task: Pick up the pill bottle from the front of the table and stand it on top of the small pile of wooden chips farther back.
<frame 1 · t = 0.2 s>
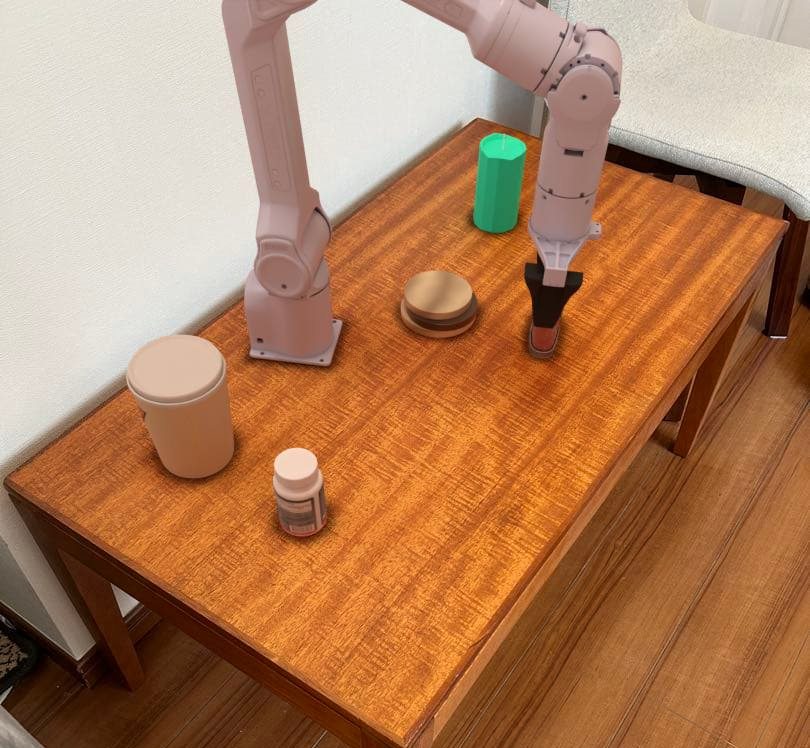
hand: (545, 302, 89), 10 cm above the table, tool pointing down, fingers open, 7 cm apart
candle: (494, 221, 116), on the table
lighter: (543, 337, 101), on the table, touching gripper
coffee cup: (198, 452, 89), on the table
chip pile: (438, 313, 104), on the table
pill bottle: (303, 520, 84), on the table
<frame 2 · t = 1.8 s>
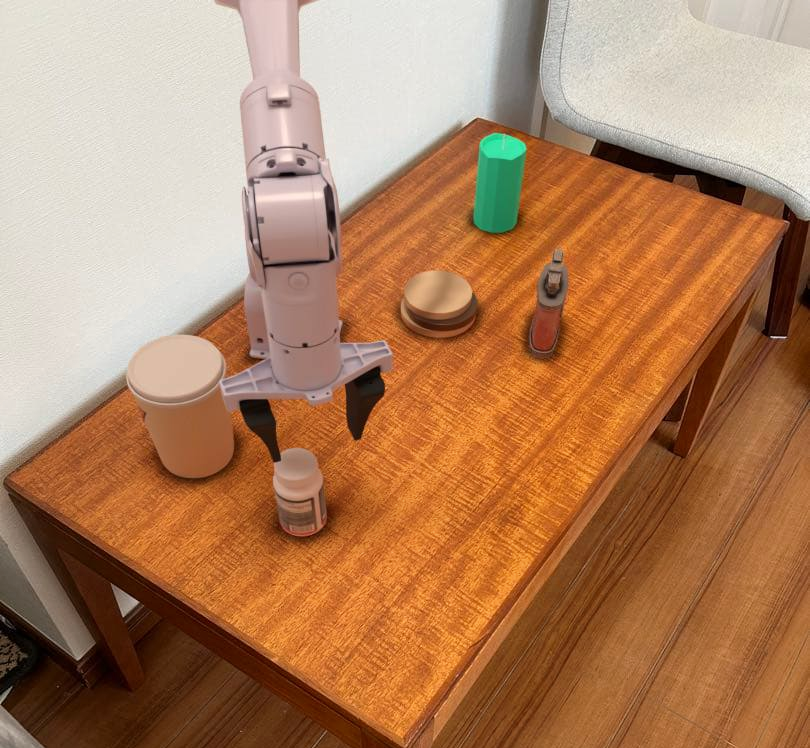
hand: (314, 443, 77), 9 cm above the table, tool pointing down, fingers open, 7 cm apart
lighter: (543, 337, 101), on the table
everything else where it was.
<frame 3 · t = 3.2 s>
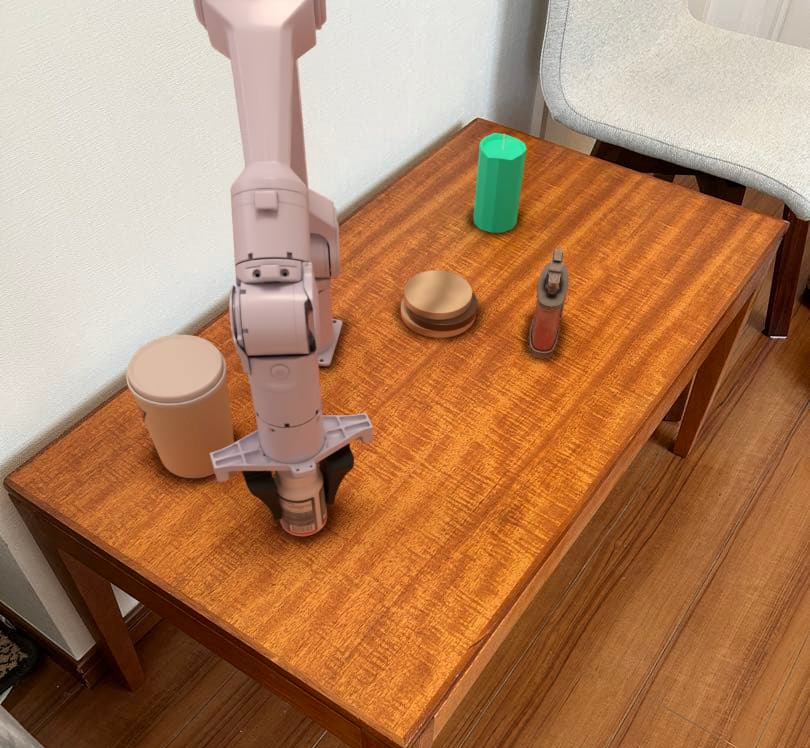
hand: (301, 505, 82), 2 cm above the table, tool pointing down, fingers closed on pill bottle, 5 cm apart
pill bottle: (303, 520, 84), on the table, touching gripper
everything else where it was.
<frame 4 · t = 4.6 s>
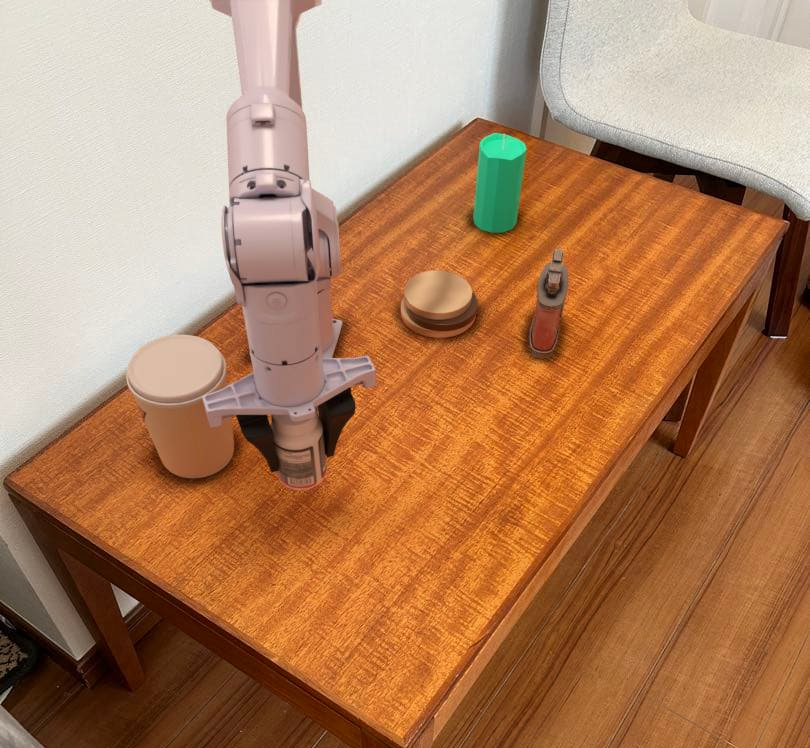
hand: (299, 456, 78), 8 cm above the table, tool pointing down, fingers closed on pill bottle, 5 cm apart
pill bottle: (302, 473, 80), point 6 cm above the table, touching gripper
everything else where it was.
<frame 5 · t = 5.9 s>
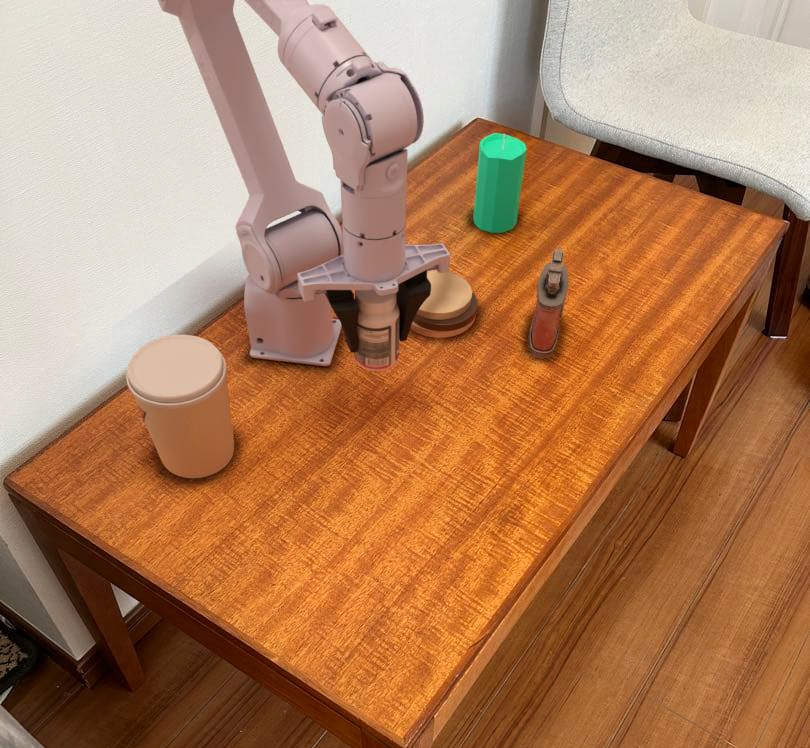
hand: (375, 340, 86), 9 cm above the table, tool pointing down, fingers closed on pill bottle, 5 cm apart
pill bottle: (376, 358, 88), point 7 cm above the table, touching gripper
everything else where it was.
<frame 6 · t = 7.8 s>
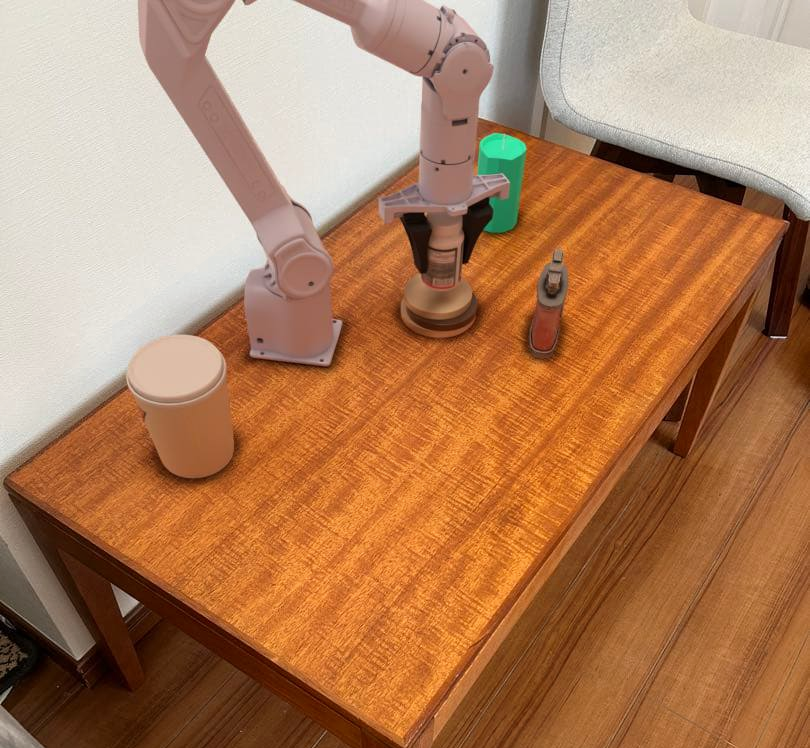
hand: (441, 263, 98), 7 cm above the table, tool pointing down, fingers closed on pill bottle, 5 cm apart
pill bottle: (440, 281, 100), point 5 cm above the table, touching gripper
everything else where it was.
when the fingers open (5 cm above the table, at t = 8.9 s): pill bottle stays where it is, resting on chip pile.
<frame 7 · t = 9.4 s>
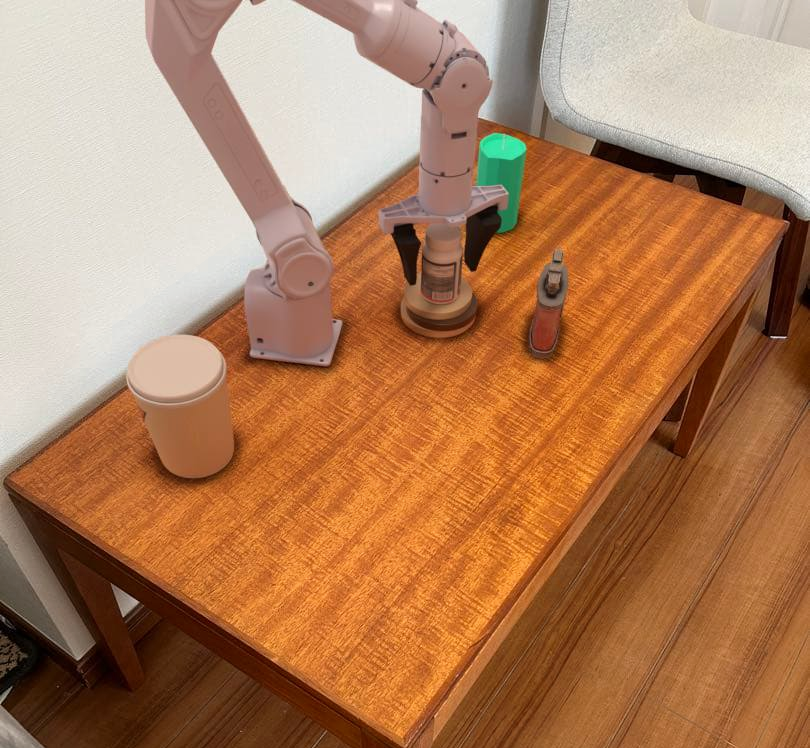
hand: (440, 273, 99), 6 cm above the table, tool pointing down, fingers open, 7 cm apart
pill bottle: (439, 294, 101), point 3 cm above the table, touching chip pile
everything else where it was.
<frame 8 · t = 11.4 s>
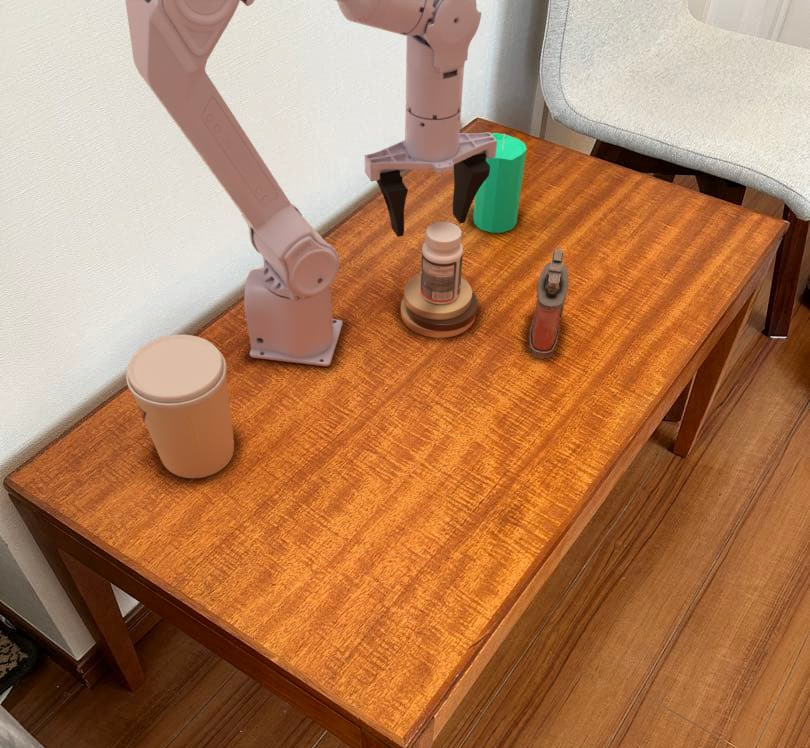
hand: (428, 225, 98), 10 cm above the table, tool pointing down, fingers open, 7 cm apart
nothing on the table moved.
at the end: pill bottle 0.1 cm off-centre on the chip pile, point 2.8 cm above the chip pile's base; pill bottle tilted 0° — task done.
